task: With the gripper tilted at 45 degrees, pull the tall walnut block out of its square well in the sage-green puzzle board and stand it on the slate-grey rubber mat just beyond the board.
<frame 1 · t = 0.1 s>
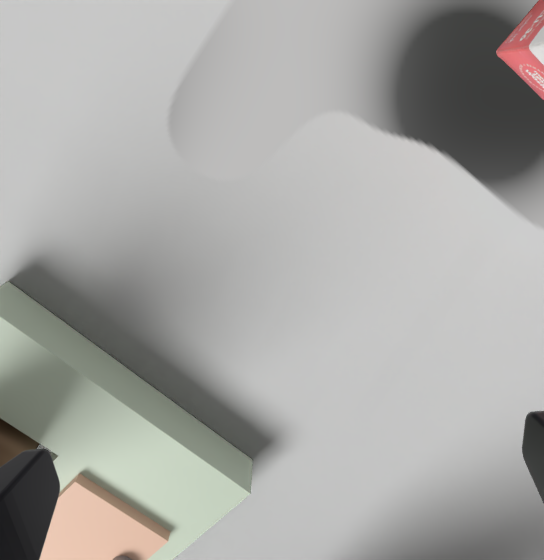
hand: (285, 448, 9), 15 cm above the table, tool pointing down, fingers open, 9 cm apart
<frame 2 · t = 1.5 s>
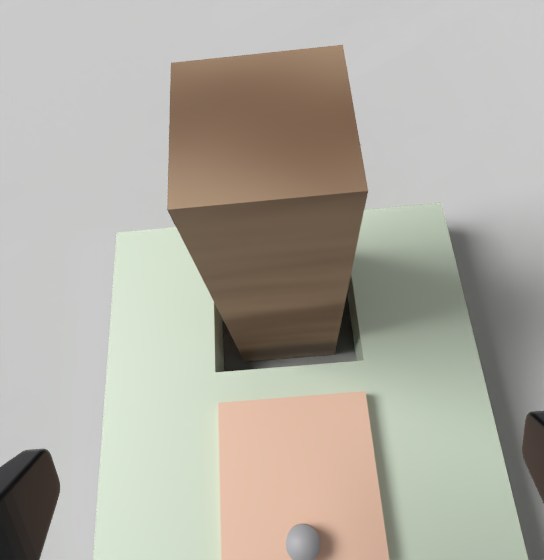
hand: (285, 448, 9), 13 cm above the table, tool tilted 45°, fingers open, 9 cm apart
walnut block: (285, 315, 24), resting in puzzle board
puzzle board: (285, 315, 24), on the table
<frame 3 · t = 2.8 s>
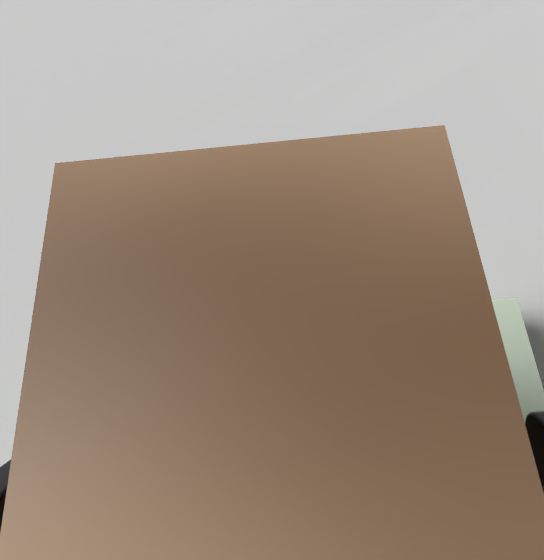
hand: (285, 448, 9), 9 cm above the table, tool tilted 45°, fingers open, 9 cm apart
walnut block: (295, 450, 17), resting in puzzle board
puzzle board: (295, 450, 17), on the table
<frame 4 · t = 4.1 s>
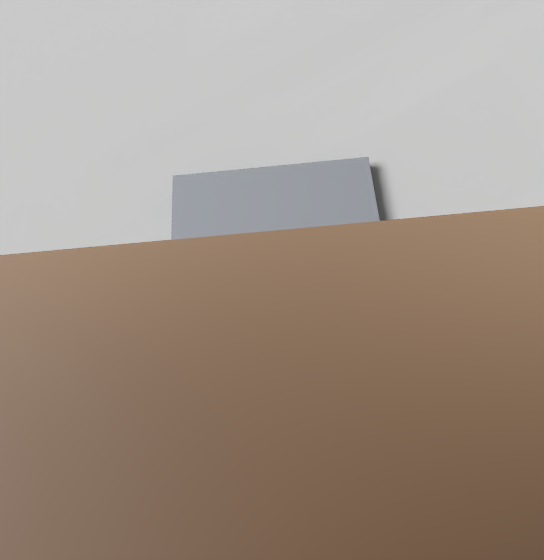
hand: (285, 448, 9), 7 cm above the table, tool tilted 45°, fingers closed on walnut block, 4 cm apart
walnut block: (298, 513, 15), resting in puzzle board, touching gripper
grey mat: (277, 261, 18), on the table
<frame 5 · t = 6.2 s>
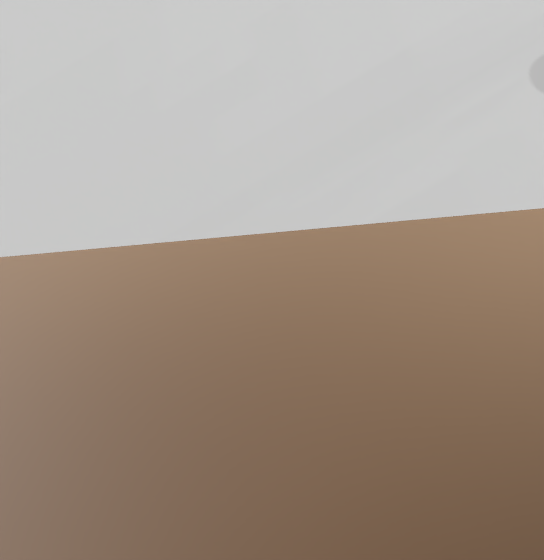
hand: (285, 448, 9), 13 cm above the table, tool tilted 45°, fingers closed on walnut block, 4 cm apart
walnut block: (298, 513, 15), point 6 cm above the table, touching gripper
when the fingers open (9 cm above the table, at t = 8.2 s): walnut block stays where it is, resting on grey mat.
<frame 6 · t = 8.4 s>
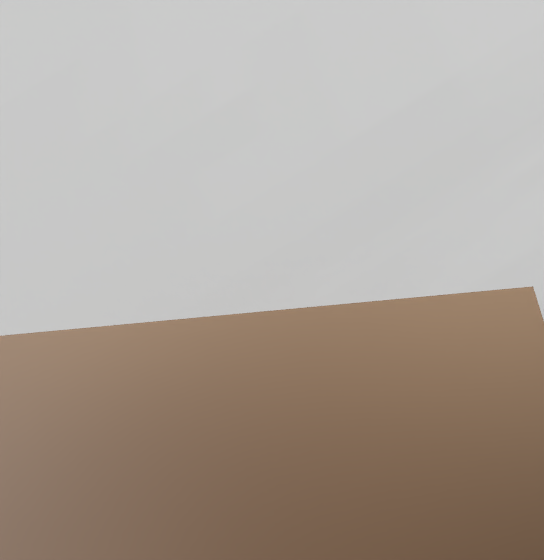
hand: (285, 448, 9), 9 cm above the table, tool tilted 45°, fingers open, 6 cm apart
walnut block: (299, 511, 16), point 1 cm above the table, touching grey mat
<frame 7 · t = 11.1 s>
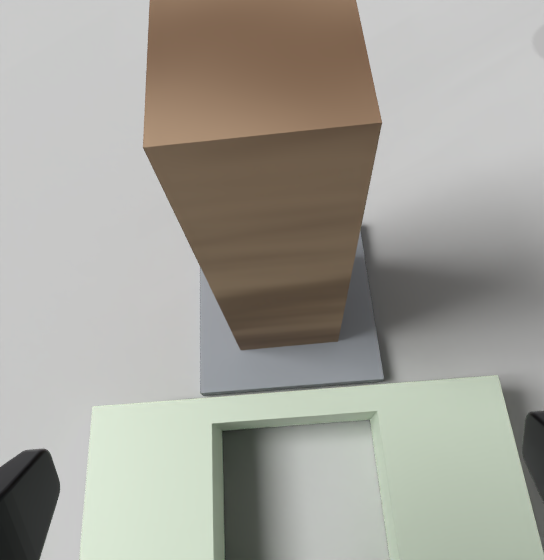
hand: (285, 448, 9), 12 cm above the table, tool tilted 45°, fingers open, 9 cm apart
walnut block: (285, 300, 22), point 1 cm above the table, touching grey mat
puzzle board: (302, 506, 19), on the table
grey mat: (285, 305, 23), on the table
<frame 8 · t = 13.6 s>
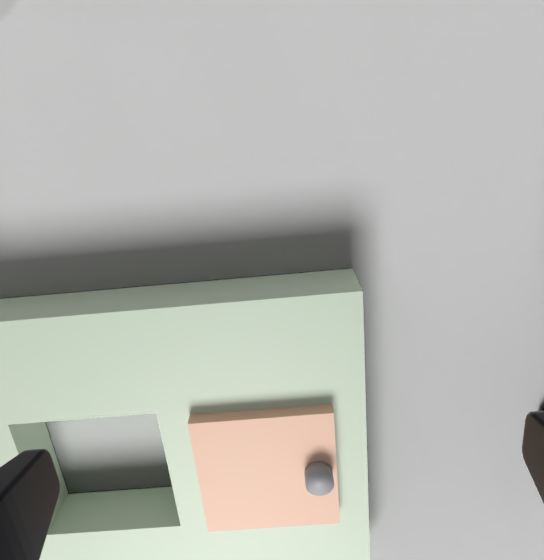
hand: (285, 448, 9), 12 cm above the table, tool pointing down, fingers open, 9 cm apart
puzzle board: (115, 440, 24), on the table
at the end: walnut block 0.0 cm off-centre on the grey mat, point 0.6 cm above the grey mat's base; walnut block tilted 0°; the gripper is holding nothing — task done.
